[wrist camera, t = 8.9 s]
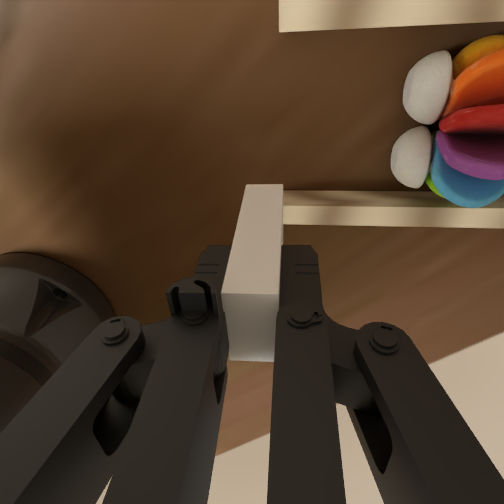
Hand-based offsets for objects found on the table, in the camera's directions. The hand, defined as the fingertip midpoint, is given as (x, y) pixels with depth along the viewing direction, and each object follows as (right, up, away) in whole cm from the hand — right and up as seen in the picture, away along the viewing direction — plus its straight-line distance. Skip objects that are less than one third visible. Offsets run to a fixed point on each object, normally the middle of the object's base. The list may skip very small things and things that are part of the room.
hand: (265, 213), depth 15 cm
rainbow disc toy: (+13, +8, +9) cm, 18 cm away
